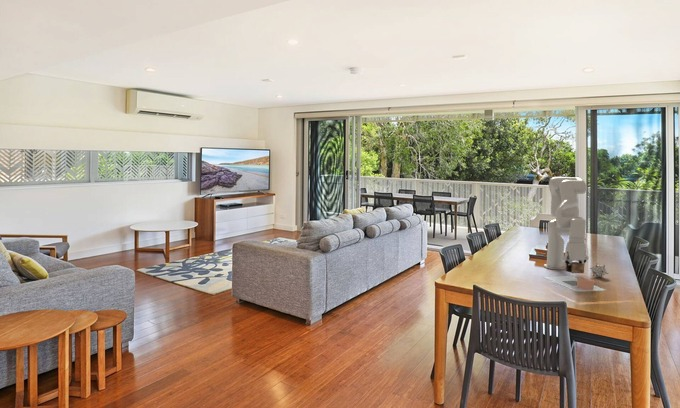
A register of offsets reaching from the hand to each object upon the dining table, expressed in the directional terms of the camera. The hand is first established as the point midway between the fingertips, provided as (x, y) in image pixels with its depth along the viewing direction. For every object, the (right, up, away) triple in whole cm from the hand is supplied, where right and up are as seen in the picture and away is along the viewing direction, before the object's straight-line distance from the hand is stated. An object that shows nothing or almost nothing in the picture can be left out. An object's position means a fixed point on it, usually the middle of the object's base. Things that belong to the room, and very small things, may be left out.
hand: (574, 271), depth 236 cm
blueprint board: (0, -8, +1) cm, 8 cm away
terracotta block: (+1, -8, -8) cm, 11 cm away
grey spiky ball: (+25, -7, +18) cm, 31 cm away
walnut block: (0, 0, 0) cm, 0 cm away
